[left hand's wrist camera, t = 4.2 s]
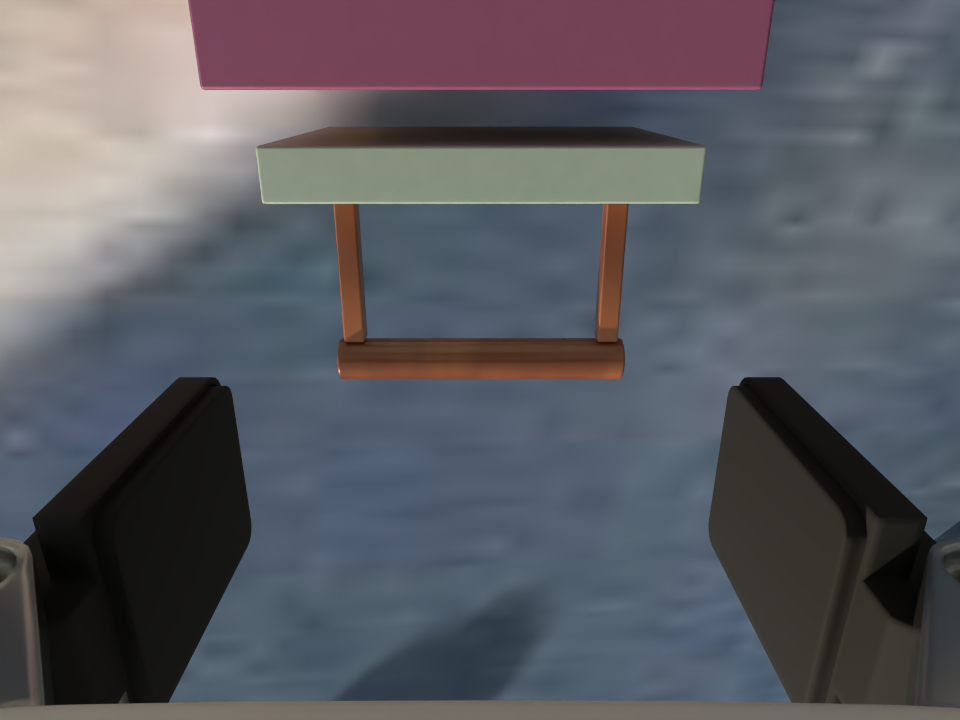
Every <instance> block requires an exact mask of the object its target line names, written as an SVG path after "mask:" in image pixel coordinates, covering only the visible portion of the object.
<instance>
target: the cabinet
mask: <svg viewBox="0 0 960 720" xmlns="http://www.w3.org/2000/svg"><path fill="white" fill-rule="evenodd" d="M188 3H189V10H190V16H191V23H192V30H193V37H194V44H195V51H196V58H197V65H198V72H199V79H200V86H201V88H202V89H204V90H758V89H760V88H761V87H762V83H763V76H764V69H765V63H766V56H767V49H768V42H769V35H770V28H771V21H772V14H773V7H774V0H188Z"/></svg>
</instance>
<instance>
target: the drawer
mask: <svg viewBox="0 0 960 720" xmlns="http://www.w3.org/2000/svg"><path fill="white" fill-rule="evenodd" d="M256 154H257V162H258V171H259V179H260V187H261V196H262V202H263V203H265V204H333V207H334V219H335V232H336V244H337V257H338V269H339V281H340V294H341V306H342V319H343V331H344V338H343V339H341V340H340V341H339V344H338V350H337V368H338V373H339V376H340V378H342V379H620V378H621V377H622V375H623V372H624V366H625V351H624V345H623V342H622V340H621V339H620V338H618V328H619V316H620V304H621V291H622V279H623V266H624V254H625V241H626V229H627V217H628V204H671V203H699V202H700V199H701V191H702V182H703V174H704V165H705V157H706V146H703V145H699V144H696V143H692V142H688V141H684V140H680V139H677V138H673V137H669V136H665V135H661V134H658V133H654V132H650V131H646V130H642V129H639V128H635V127H327V128H324V129H320V130H316V131H312V132H309V133H305V134H301V135H297V136H294V137H290V138H286V139H283V140H279V141H275V142H271V143H268V144H264V145H260V146H257V147H256ZM359 204H603V216H602V231H601V246H600V261H599V276H598V291H597V306H596V321H595V337H596V338H366V337H367V324H366V309H365V294H364V279H363V264H362V249H361V234H360V219H359Z"/></svg>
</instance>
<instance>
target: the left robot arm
mask: <svg viewBox="0 0 960 720" xmlns="http://www.w3.org/2000/svg"><path fill="white" fill-rule="evenodd" d="M33 522H34V525H35V529H36V531H35V532H34V533H33V534H32V535H31V536H30V537H29V538H28V539H27V540H26V541H25V542H24V543H22V542H20V541H18V540H12V539H5V538H0V720H960V538H955V539H948V540H942V541H940V542H938V543H936V542H935V541H934V540H933V539H932V538H931V537H930V536H929V535H928V534H927V533H926V532H925V531H924V529H925V525H926V522H927V517H926V516H925V515H924V514H923V513H922V512H921V511H920V510H919V509H918V508H916V507H915V506H914V505H913V504H912V503H911V502H910V501H909V500H908V499H907V498H906V497H905V496H904V495H903V494H902V493H901V492H900V491H899V490H898V489H897V488H896V487H895V486H894V485H893V484H892V483H890V482H889V481H888V480H887V479H886V478H885V477H884V476H883V475H882V474H881V473H880V472H879V471H878V470H877V469H876V468H875V467H874V466H873V465H872V464H871V463H870V462H869V461H868V460H867V459H866V458H864V457H863V456H862V455H861V454H860V453H859V452H858V451H857V450H856V449H855V448H854V447H853V446H852V445H851V444H850V443H849V442H848V441H847V440H846V439H845V438H844V437H843V436H842V435H841V434H840V433H838V432H837V431H836V430H835V429H834V428H833V427H832V426H831V425H830V424H829V423H828V422H827V421H826V420H825V419H824V418H823V417H822V416H821V415H820V414H819V413H818V412H817V411H816V410H815V409H814V408H812V407H811V406H810V405H809V404H808V403H807V402H806V401H805V400H804V399H803V398H802V397H801V396H800V395H799V394H798V393H797V392H796V391H795V390H794V389H793V388H792V387H791V386H790V385H789V384H787V383H786V382H785V381H784V380H783V379H782V378H780V377H747V378H744V379H743V380H742V381H741V383H740V385H739V386H732V387H731V388H730V390H729V393H728V398H727V405H726V411H725V418H724V425H723V431H722V438H721V444H720V451H719V458H718V464H717V471H716V478H715V484H714V491H713V498H712V504H711V511H710V518H709V537H710V541H711V544H712V547H713V549H714V551H715V553H716V554H717V556H718V558H719V560H720V562H721V564H722V566H723V568H724V570H725V572H726V574H727V576H728V578H729V580H730V582H731V584H732V586H733V588H734V590H735V592H736V594H737V596H738V598H739V600H740V602H741V604H742V606H743V608H744V610H745V612H746V614H747V616H748V618H749V620H750V622H751V624H752V626H753V627H754V629H755V631H756V633H757V635H758V637H759V639H760V641H761V643H762V645H763V647H764V649H765V651H766V653H767V655H768V657H769V659H770V661H771V663H772V665H773V667H774V669H775V671H776V673H777V675H778V677H779V679H780V681H781V683H782V685H783V687H784V689H785V691H786V693H787V695H788V697H789V698H790V700H791V702H792V703H774V702H721V701H517V700H443V701H239V702H186V703H168V702H169V700H170V698H171V696H172V695H173V693H174V691H175V689H176V687H177V685H178V683H179V681H180V679H181V677H182V675H183V673H184V671H185V669H186V667H187V665H188V663H189V661H190V659H191V657H192V655H193V653H194V651H195V649H196V647H197V645H198V643H199V641H200V639H201V637H202V635H203V633H204V631H205V629H206V627H207V625H208V624H209V622H210V620H211V618H212V616H213V614H214V612H215V610H216V608H217V606H218V604H219V602H220V600H221V598H222V596H223V594H224V592H225V590H226V588H227V586H228V584H229V582H230V580H231V578H232V576H233V574H234V572H235V570H236V568H237V566H238V564H239V562H240V560H241V558H242V556H243V554H244V552H245V551H246V549H247V547H248V544H249V541H250V537H251V518H250V511H249V504H248V498H247V491H246V484H245V478H244V471H243V465H242V458H241V451H240V445H239V438H238V431H237V425H236V418H235V411H234V405H233V398H232V393H231V390H230V388H229V387H228V386H221V385H220V383H219V381H218V380H217V379H216V378H213V377H180V378H178V379H177V380H176V381H175V382H174V383H172V384H171V385H170V386H169V387H168V388H167V389H166V390H165V391H164V392H163V393H162V394H161V395H160V396H159V397H158V398H157V399H156V400H155V401H154V402H153V403H152V404H151V405H150V406H149V407H148V408H146V409H145V410H144V411H143V412H142V413H141V414H140V415H139V416H138V417H137V418H136V419H135V420H134V421H133V422H132V423H131V424H130V425H129V426H128V427H127V428H126V429H125V430H124V431H123V432H122V433H120V434H119V435H118V436H117V437H116V438H115V439H114V440H113V441H112V442H111V443H110V444H109V445H108V446H107V447H106V448H105V449H104V450H103V451H102V452H101V453H100V454H99V455H98V456H97V457H96V458H94V459H93V460H92V461H91V462H90V463H89V464H88V465H87V466H86V467H85V468H84V469H83V470H82V471H81V472H80V473H79V474H78V475H77V476H76V477H75V478H74V479H73V480H72V481H71V482H70V483H68V484H67V485H66V486H65V487H64V488H63V489H62V490H61V491H60V492H59V493H58V494H57V495H56V496H55V497H54V498H53V499H52V500H51V501H50V502H49V503H48V504H47V505H46V506H45V507H43V508H42V509H41V510H40V511H39V512H38V513H37V514H36V515H35V516H34V517H33Z"/></svg>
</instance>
